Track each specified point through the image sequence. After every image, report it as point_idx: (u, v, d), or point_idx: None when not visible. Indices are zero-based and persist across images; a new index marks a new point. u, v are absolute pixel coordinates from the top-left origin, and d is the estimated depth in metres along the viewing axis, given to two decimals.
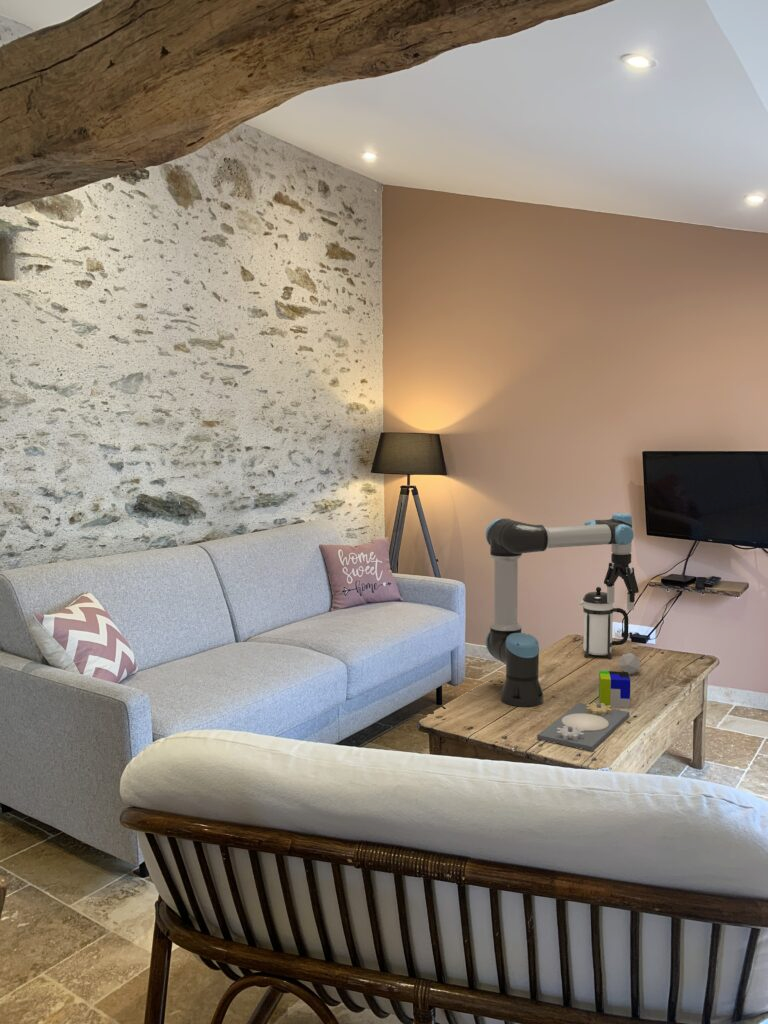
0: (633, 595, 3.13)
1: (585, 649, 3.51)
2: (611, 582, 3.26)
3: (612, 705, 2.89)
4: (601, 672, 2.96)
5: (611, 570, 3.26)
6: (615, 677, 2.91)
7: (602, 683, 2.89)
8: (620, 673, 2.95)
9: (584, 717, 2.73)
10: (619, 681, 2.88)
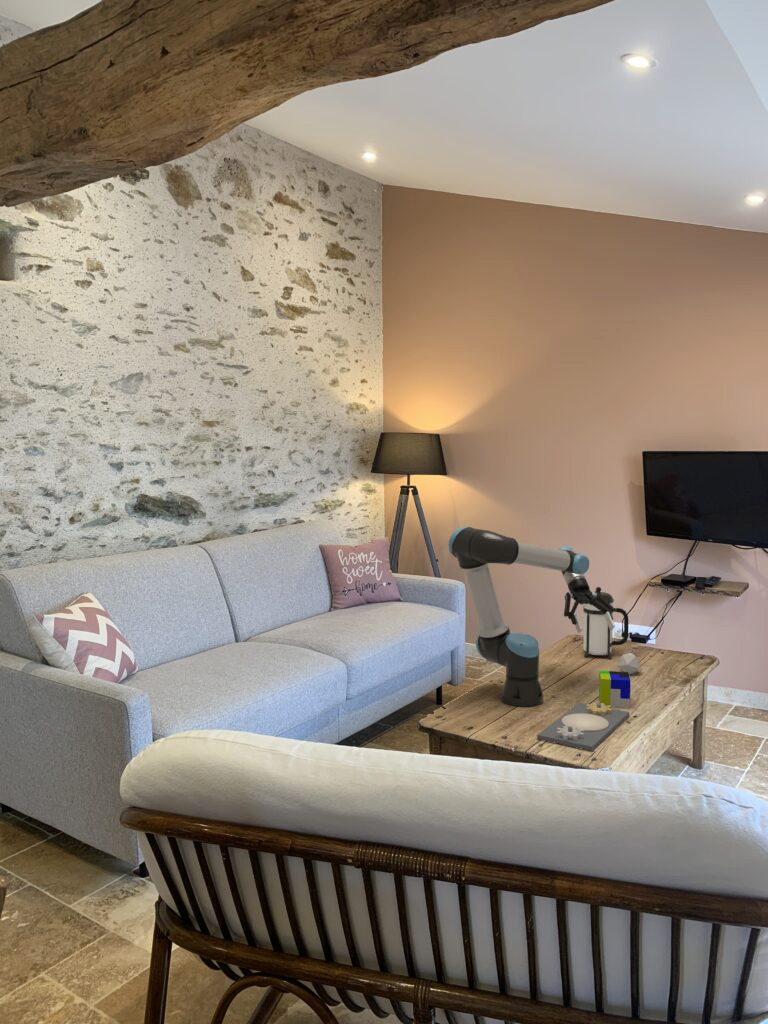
0: None
1: (585, 649, 3.51)
2: (575, 610, 3.06)
3: (612, 705, 2.89)
4: (601, 672, 2.96)
5: None
6: (615, 677, 2.91)
7: (602, 683, 2.89)
8: (620, 673, 2.95)
9: (584, 717, 2.73)
10: (619, 681, 2.88)
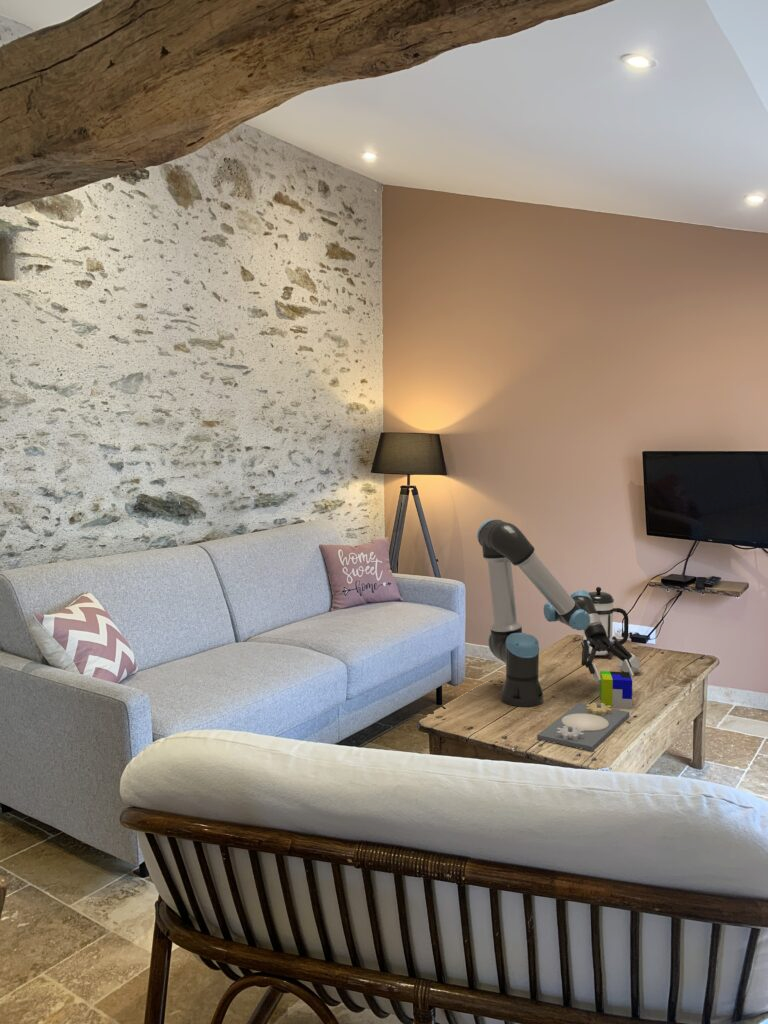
0: None
1: None
2: (592, 659, 2.99)
3: (614, 705, 2.89)
4: (602, 672, 2.96)
5: None
6: (617, 677, 2.90)
7: (604, 683, 2.88)
8: (621, 673, 2.95)
9: (584, 717, 2.73)
10: (621, 681, 2.87)
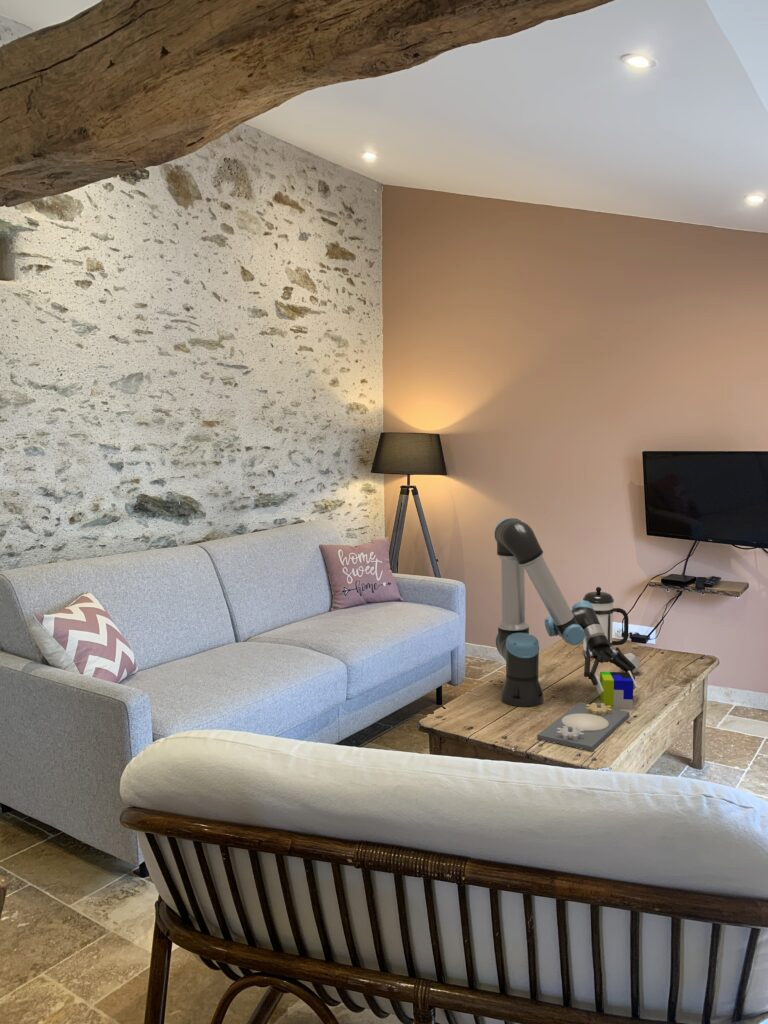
0: None
1: (585, 649, 3.51)
2: (595, 670, 2.94)
3: (615, 706, 2.88)
4: (602, 673, 2.95)
5: None
6: (618, 678, 2.90)
7: (605, 684, 2.87)
8: (621, 674, 2.94)
9: (584, 717, 2.73)
10: (622, 682, 2.87)
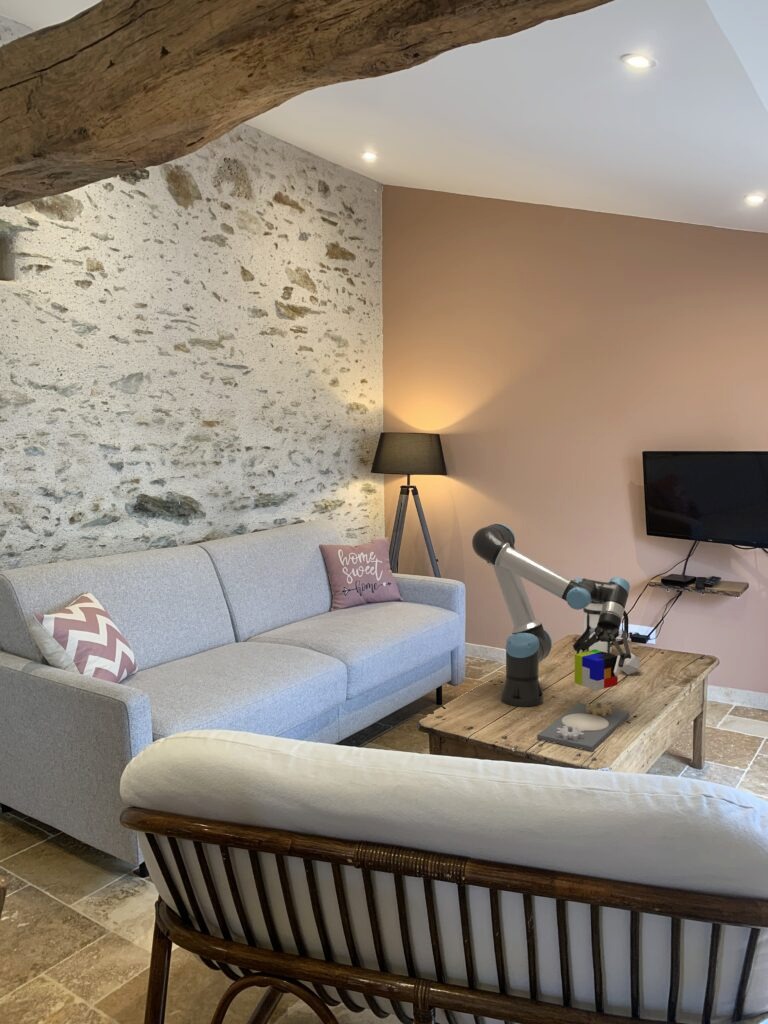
0: (624, 659, 2.74)
1: None
2: (585, 646, 2.83)
3: (583, 684, 2.75)
4: (591, 650, 2.81)
5: (587, 634, 2.85)
6: (592, 656, 2.75)
7: (575, 659, 2.77)
8: (606, 655, 2.76)
9: (584, 717, 2.73)
10: (588, 660, 2.72)
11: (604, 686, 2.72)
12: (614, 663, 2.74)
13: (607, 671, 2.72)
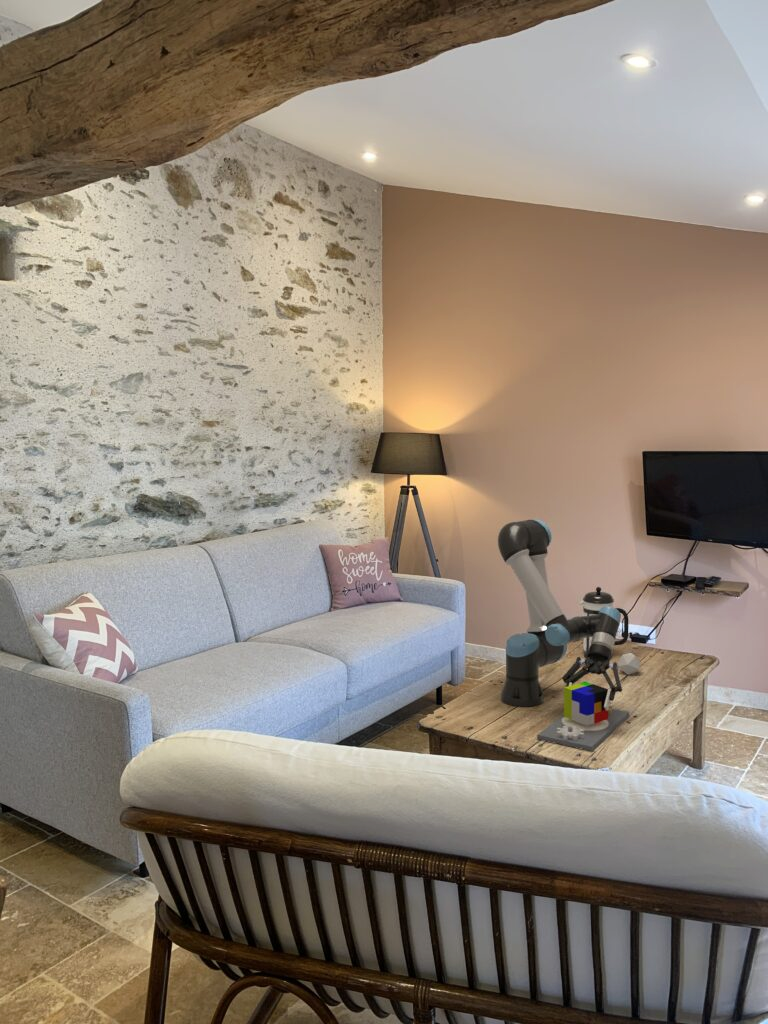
0: (614, 693, 2.67)
1: (585, 649, 3.51)
2: (575, 678, 2.75)
3: (573, 718, 2.67)
4: (581, 683, 2.73)
5: (577, 666, 2.78)
6: (582, 689, 2.67)
7: (565, 692, 2.69)
8: (596, 688, 2.68)
9: None
10: (578, 694, 2.64)
11: (594, 721, 2.64)
12: (604, 697, 2.66)
13: (597, 706, 2.64)
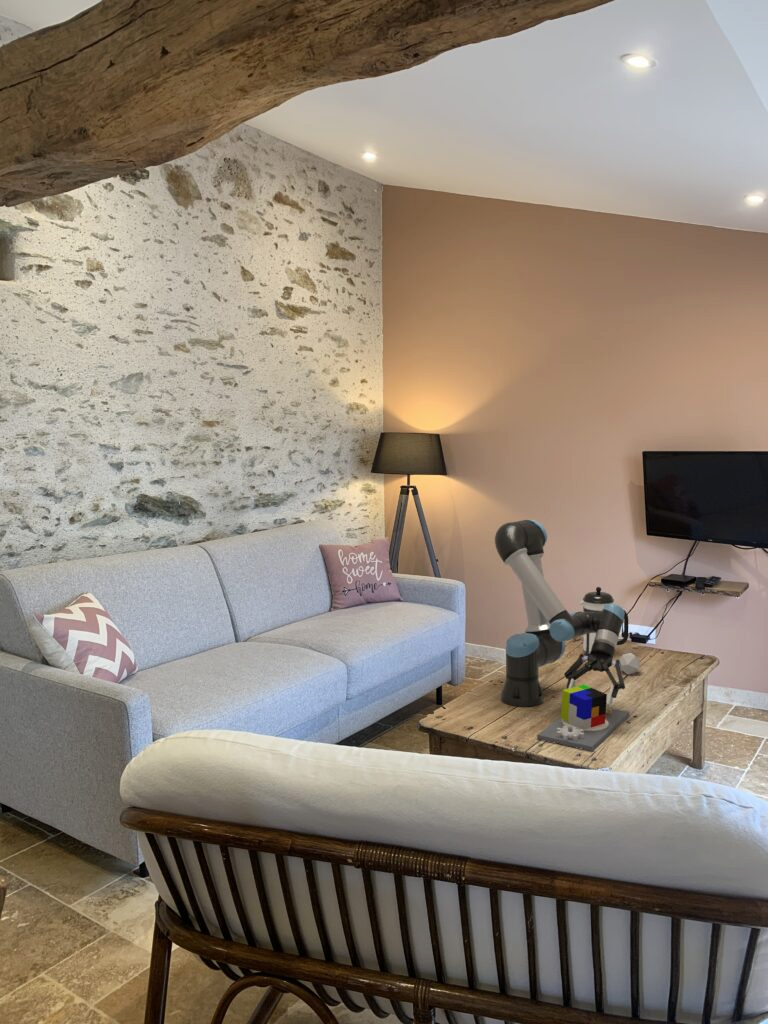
0: (617, 690, 2.67)
1: (585, 649, 3.51)
2: (577, 675, 2.76)
3: (569, 721, 2.67)
4: (580, 686, 2.73)
5: (580, 662, 2.78)
6: (580, 693, 2.67)
7: (563, 695, 2.69)
8: (595, 692, 2.67)
9: None
10: (576, 698, 2.64)
11: (590, 725, 2.64)
12: (602, 701, 2.66)
13: (594, 710, 2.64)
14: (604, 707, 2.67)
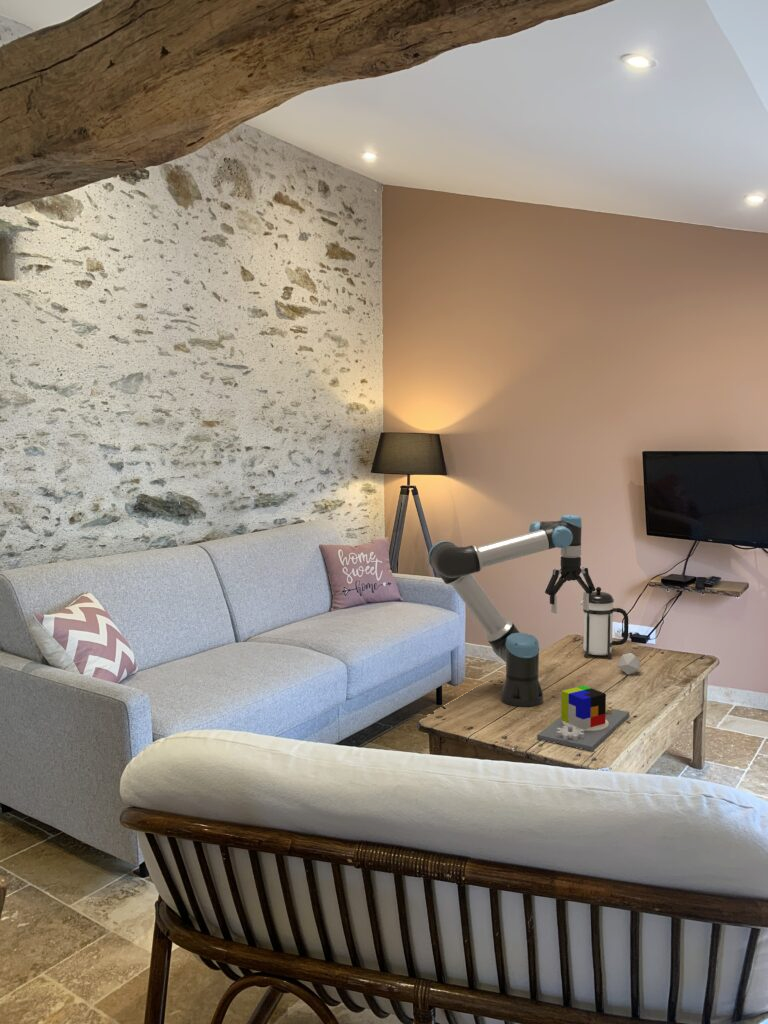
0: None
1: (585, 649, 3.51)
2: None
3: (569, 722, 2.68)
4: (580, 687, 2.74)
5: None
6: (579, 693, 2.67)
7: (562, 695, 2.70)
8: (594, 692, 2.68)
9: None
10: (575, 697, 2.65)
11: (590, 725, 2.64)
12: (601, 701, 2.66)
13: (593, 710, 2.65)
14: (604, 707, 2.67)
